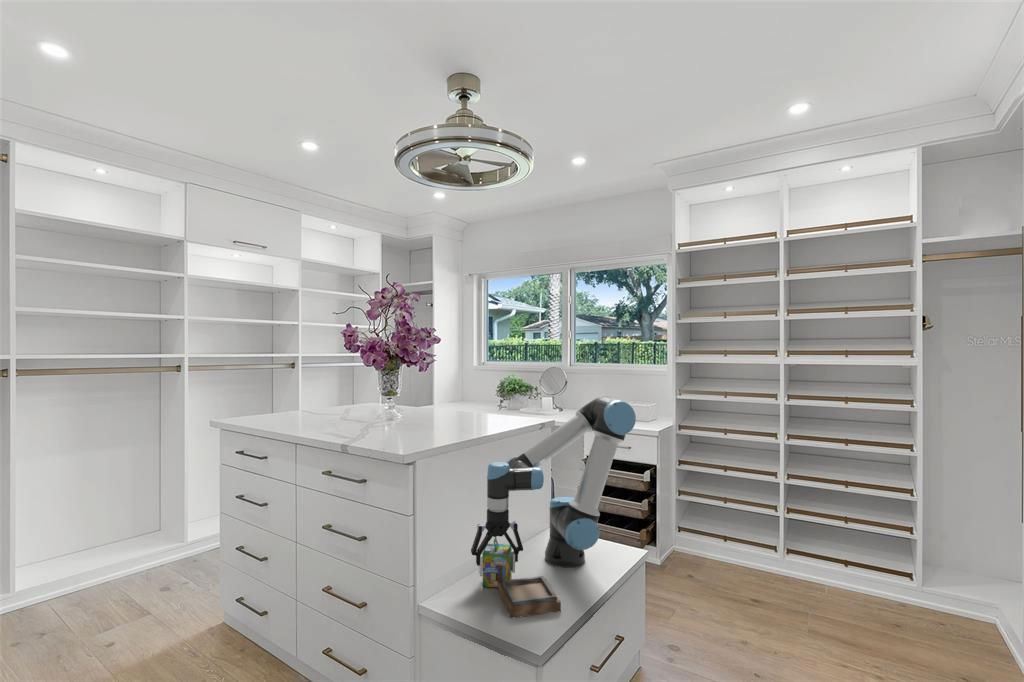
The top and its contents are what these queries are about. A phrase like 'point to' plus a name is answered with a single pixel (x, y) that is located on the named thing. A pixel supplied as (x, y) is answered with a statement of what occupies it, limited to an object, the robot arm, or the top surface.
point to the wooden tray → (528, 596)
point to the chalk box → (496, 564)
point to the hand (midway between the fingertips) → (496, 572)
